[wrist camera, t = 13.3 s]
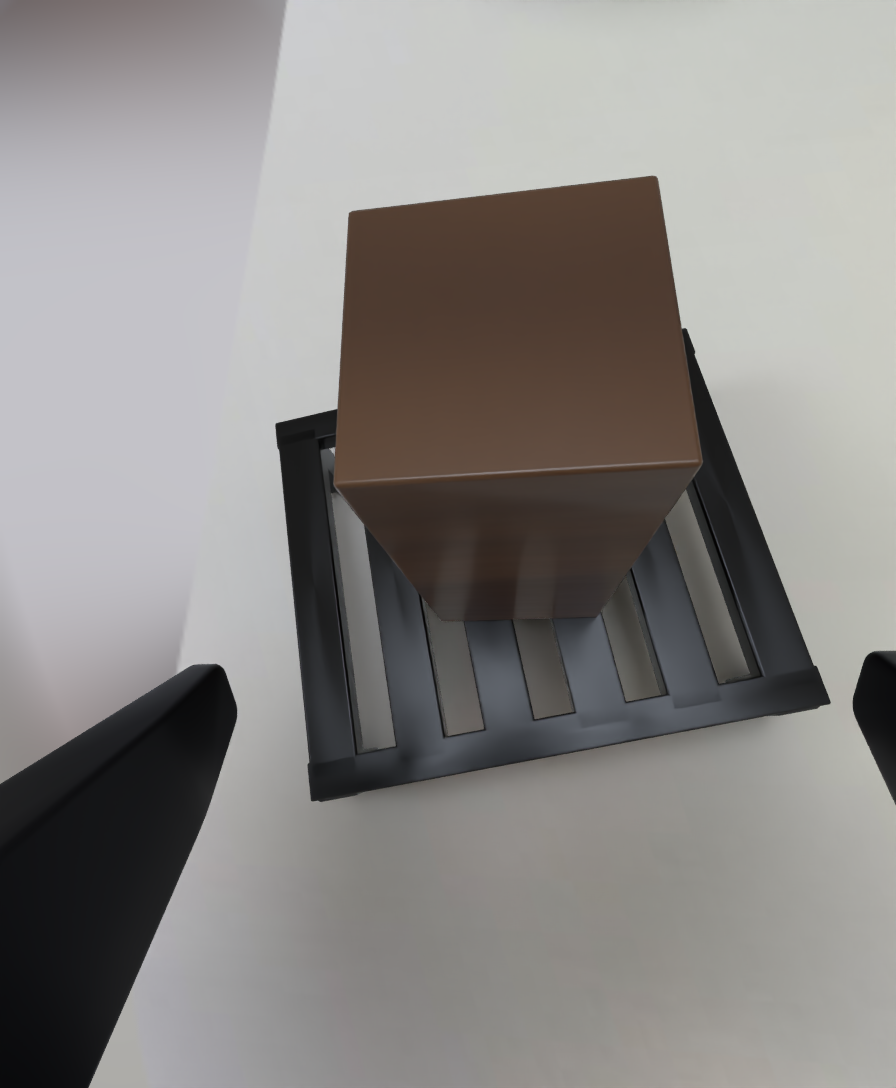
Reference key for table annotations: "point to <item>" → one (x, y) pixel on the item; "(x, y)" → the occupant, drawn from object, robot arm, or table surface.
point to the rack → (505, 704)
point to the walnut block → (514, 394)
